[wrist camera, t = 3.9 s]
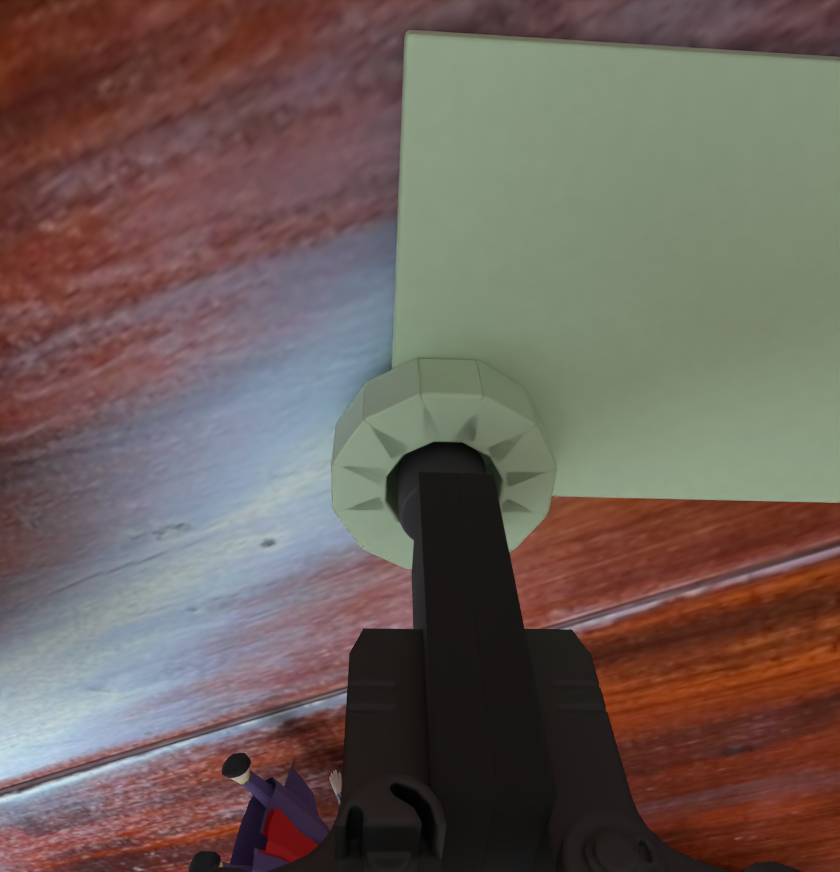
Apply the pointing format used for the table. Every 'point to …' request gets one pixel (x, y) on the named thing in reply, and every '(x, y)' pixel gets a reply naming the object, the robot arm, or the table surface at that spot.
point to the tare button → (431, 460)
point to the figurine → (271, 821)
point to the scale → (607, 279)
